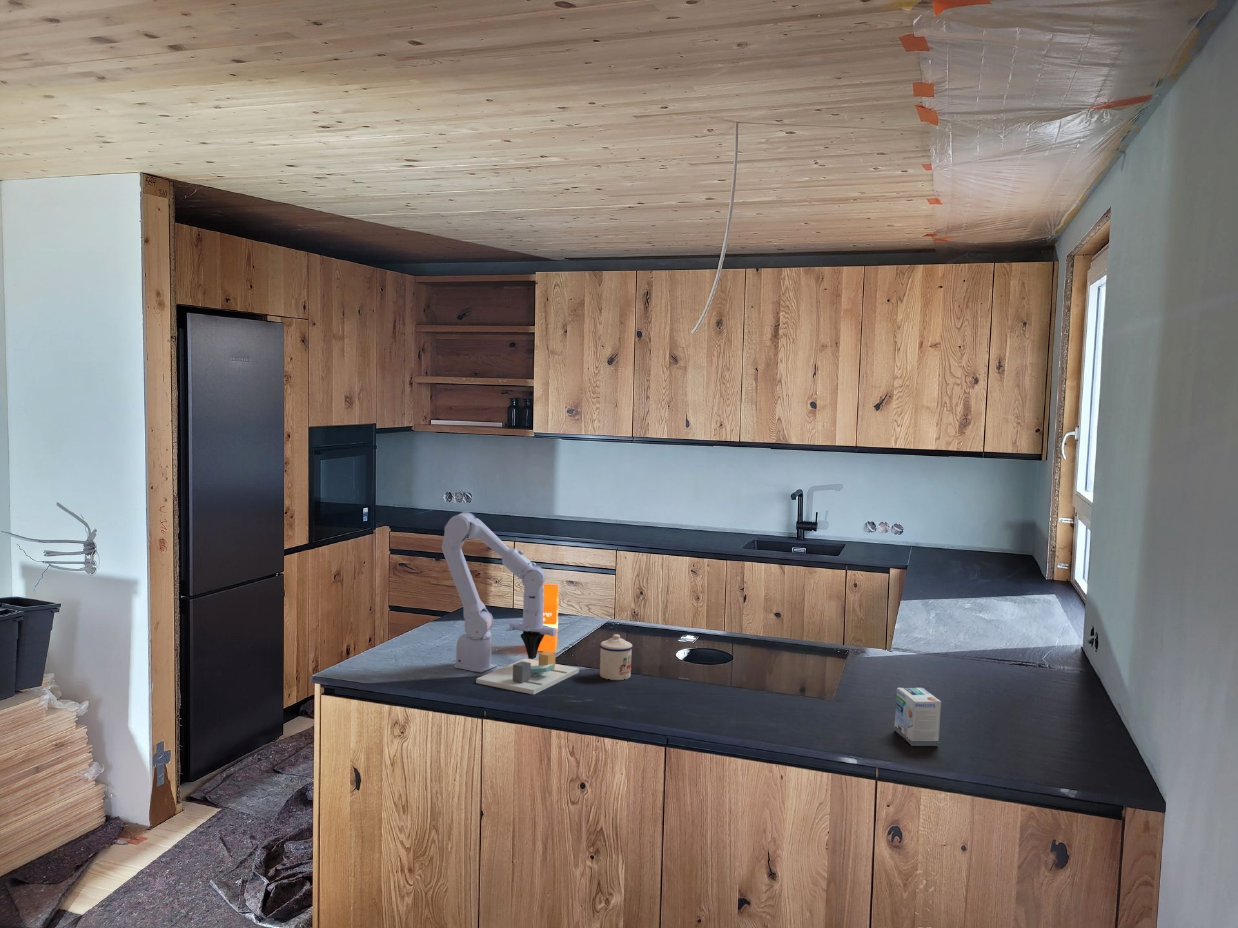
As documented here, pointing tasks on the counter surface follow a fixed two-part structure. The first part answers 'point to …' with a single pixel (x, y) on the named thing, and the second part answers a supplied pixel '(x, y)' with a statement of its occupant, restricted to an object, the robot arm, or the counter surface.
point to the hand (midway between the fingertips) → (532, 657)
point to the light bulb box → (917, 714)
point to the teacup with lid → (615, 658)
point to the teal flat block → (541, 668)
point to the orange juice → (550, 617)
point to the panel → (534, 684)
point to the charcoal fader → (521, 671)
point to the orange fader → (547, 658)
